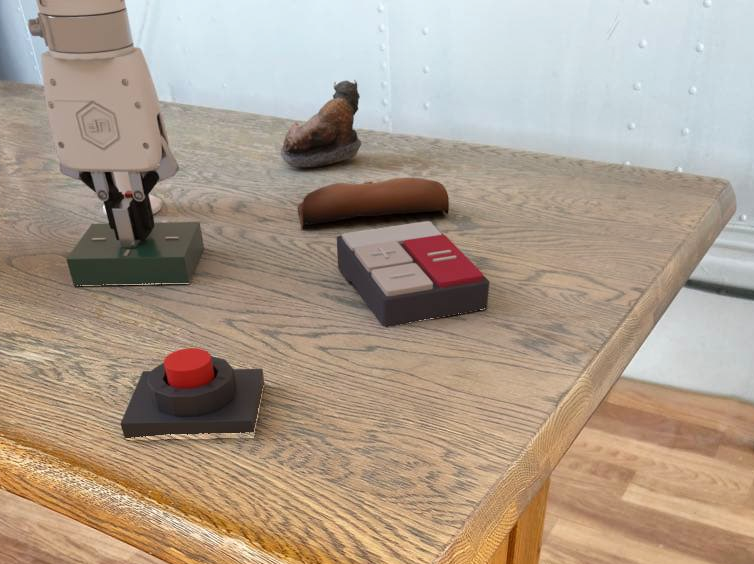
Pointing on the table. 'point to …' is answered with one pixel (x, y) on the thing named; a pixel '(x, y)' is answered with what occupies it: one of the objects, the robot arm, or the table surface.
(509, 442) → the table surface
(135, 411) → the button box
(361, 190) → the sunglasses case
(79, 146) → the robot arm
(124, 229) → the block knob
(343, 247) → the calculator
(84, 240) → the panel
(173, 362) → the red button
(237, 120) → the table surface
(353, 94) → the animal figurine
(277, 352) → the table surface
